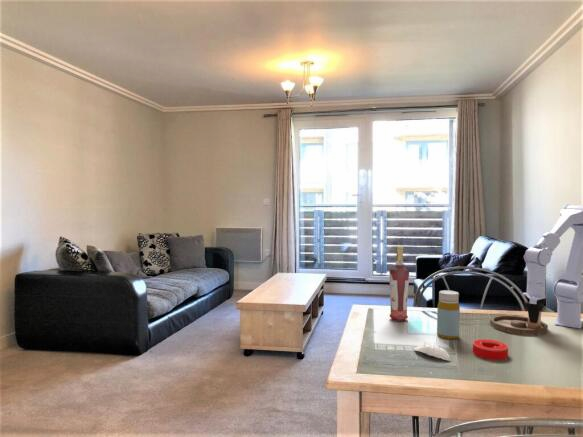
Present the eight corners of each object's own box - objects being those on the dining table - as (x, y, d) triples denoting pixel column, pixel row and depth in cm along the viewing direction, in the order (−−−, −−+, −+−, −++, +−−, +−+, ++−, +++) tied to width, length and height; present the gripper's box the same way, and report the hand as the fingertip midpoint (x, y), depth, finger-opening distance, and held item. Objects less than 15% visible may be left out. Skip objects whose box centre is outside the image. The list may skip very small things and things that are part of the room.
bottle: (436, 338, 147) (437, 293, 146) (437, 332, 154) (438, 289, 153) (458, 340, 144) (459, 295, 144) (459, 334, 151) (460, 291, 150)
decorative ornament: (478, 346, 140) (478, 336, 140) (511, 353, 134) (511, 343, 133) (468, 355, 132) (468, 344, 132) (502, 363, 126) (503, 352, 126)
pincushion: (408, 352, 134) (408, 334, 134) (420, 348, 138) (420, 330, 138) (444, 364, 125) (444, 345, 125) (455, 359, 129) (456, 340, 128)
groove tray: (496, 317, 172) (496, 312, 172) (549, 325, 162) (549, 320, 162) (485, 328, 157) (486, 323, 157) (543, 338, 147) (544, 333, 147)
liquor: (410, 322, 165) (412, 247, 163) (390, 322, 165) (392, 247, 163) (405, 317, 172) (407, 245, 171) (386, 317, 172) (388, 245, 171)
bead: (529, 325, 159) (529, 309, 159) (541, 327, 157) (542, 311, 157) (526, 328, 156) (527, 311, 156) (539, 330, 154) (539, 313, 154)
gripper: (526, 277, 164) (525, 313, 165) (520, 284, 152) (519, 323, 153) (548, 279, 160) (547, 317, 160) (543, 286, 148) (542, 326, 149)
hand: (535, 320), depth 156 cm, fingers open, 7 cm apart
